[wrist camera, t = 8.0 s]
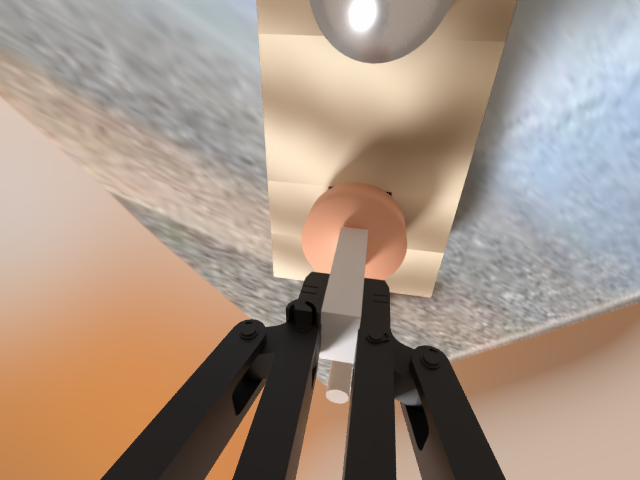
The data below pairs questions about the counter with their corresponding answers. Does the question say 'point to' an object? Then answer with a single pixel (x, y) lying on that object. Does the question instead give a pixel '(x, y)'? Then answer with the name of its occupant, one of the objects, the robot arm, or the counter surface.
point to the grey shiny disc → (378, 26)
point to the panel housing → (375, 126)
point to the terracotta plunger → (356, 212)
